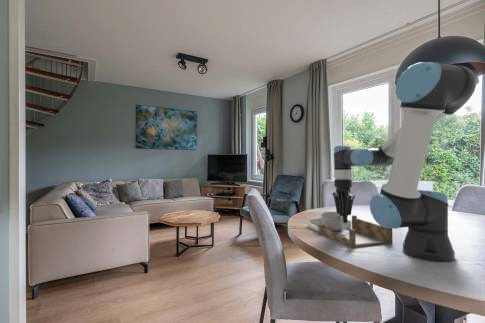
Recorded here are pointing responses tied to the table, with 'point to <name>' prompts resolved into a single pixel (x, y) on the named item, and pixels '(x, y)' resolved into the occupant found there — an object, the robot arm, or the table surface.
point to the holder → (317, 221)
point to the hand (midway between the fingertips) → (343, 229)
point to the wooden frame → (361, 227)
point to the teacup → (331, 221)
